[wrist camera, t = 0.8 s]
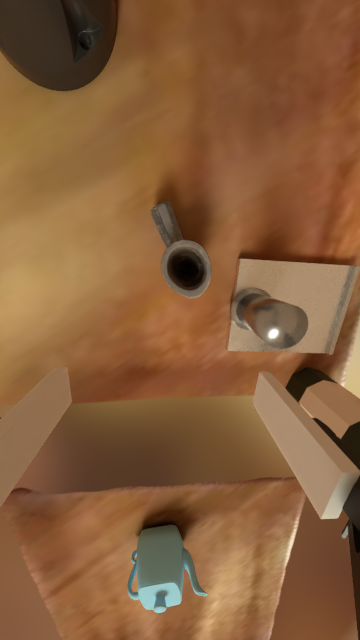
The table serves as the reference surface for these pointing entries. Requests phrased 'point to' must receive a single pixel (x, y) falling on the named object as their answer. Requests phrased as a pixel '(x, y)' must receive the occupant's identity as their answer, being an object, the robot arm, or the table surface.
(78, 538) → the table surface
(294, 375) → the wine bottle
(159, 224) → the pipe
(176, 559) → the teapot
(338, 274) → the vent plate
